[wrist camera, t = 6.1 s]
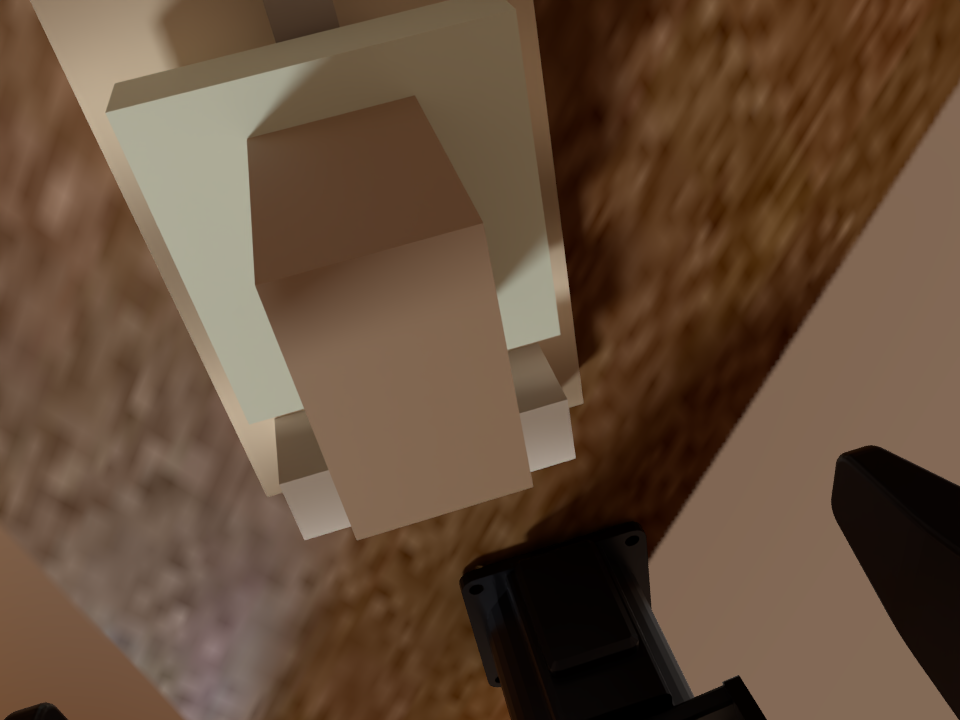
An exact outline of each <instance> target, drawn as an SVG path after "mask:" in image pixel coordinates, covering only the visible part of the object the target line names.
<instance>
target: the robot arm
mask: <svg viewBox="0 0 960 720" xmlns="http://www.w3.org/2000/svg"><path fill="white" fill-rule="evenodd" d="M831 505H832V510H833V514H834V516H835V519H836V521H837V523H838V525H839V526H840V528H841V530H842V532H843V534H844V536H845V537H846V539H847V541H848V543H849V545H850V546H851V548H852V550H853V552H854V554H855V556H856V557H857V559H858V561H859V563H860V565H861V566H862V568H863V570H864V572H865V574H866V575H867V577H868V579H869V581H870V583H871V584H872V586H873V588H874V590H875V592H876V593H877V595H878V597H879V599H880V601H881V602H882V604H883V606H884V608H885V610H886V612H887V613H888V615H889V617H890V618H891V620H892V622H893V624H894V625H895V627H896V629H897V630H898V632H899V634H900V635H901V637H902V639H903V640H904V642H905V643H906V645H907V646H908V648H909V649H910V650H911V652H912V653H913V655H914V656H915V658H916V659H917V661H918V662H919V664H920V665H921V666H922V668H923V669H924V671H925V672H926V674H927V675H928V676H929V678H930V679H931V681H932V682H933V683H934V685H935V686H936V688H937V689H938V691H939V692H940V693H941V695H942V696H943V698H944V699H945V701H946V702H947V703H948V705H949V706H950V707H951V709H952V711H953V712H954V713H955V715H956V716H957V718H958V719H959V720H960V486H958V485H956V484H954V483H952V482H950V481H948V480H946V479H944V478H942V477H940V476H938V475H936V474H934V473H932V472H930V471H928V470H926V469H924V468H922V467H920V466H918V465H916V464H914V463H912V462H910V461H908V460H906V459H903V458H901V457H899V456H897V455H895V454H893V453H891V452H889V451H887V450H885V449H883V448H881V447H878V446H872V445H870V446H864V447H861V448H858V449H855V450H852V451H848V452H845V453H843V454H842V455H840V456H839V458H838V459H837V462H836V469H835V476H834V483H833V490H832V498H831ZM459 585H460V588H461V592H462V596H463V599H464V602H465V606H466V609H467V612H468V616H469V619H470V622H471V626H472V629H473V632H474V636H475V639H476V642H477V646H478V649H479V652H480V656H481V659H482V662H483V666H484V669H485V672H486V676H487V679H488V682H489V684H490V686H493V687H502V691H503V694H504V697H505V701H506V704H507V708H508V711H509V714H510V718H511V720H767V719H766V718H765V716H764V714H763V713H762V711H761V710H760V708H759V706H758V705H757V703H756V702H755V700H754V699H753V697H752V695H751V694H750V692H749V691H748V689H747V687H746V686H745V684H744V682H743V681H742V679H741V678H740V676H739V675H738V676H735V677H733V678H731V679H728V680H726V681H724V682H722V683H723V685H722V686H720V687H718V688H715V689H713V690H711V691H708V692H706V693H704V694H701V695H699V696H697V697H694V695H693V693H692V691H691V689H690V687H689V685H688V683H687V681H686V679H685V677H684V675H683V673H682V671H681V669H680V667H679V665H678V663H677V661H676V659H675V657H674V655H673V653H672V650H671V648H670V646H669V645H668V643H667V640H666V638H665V636H664V634H663V632H662V631H661V628H660V626H659V624H658V622H657V620H656V618H655V616H654V614H653V612H652V610H651V598H650V597H651V596H650V583H649V569H648V555H647V541H646V535H645V532H644V531H643V529H642V527H641V525H640V524H639V523H637V522H627V523H624V524H621V525H618V526H614V527H611V528H608V529H605V530H601V531H598V532H595V533H592V534H589V535H585V536H582V537H579V538H576V539H572V540H569V541H566V542H563V543H560V544H556V545H553V546H550V547H547V548H544V549H540V550H537V551H534V552H531V553H527V554H524V555H521V556H518V557H515V558H511V559H508V560H505V561H502V562H499V563H495V564H492V565H489V566H486V567H482V568H479V569H476V570H473V571H470V572H468V573H466V574H465V575H463V576H462V577H461V579H460V581H459ZM4 720H68V719H67V718H66V717H65V716H64V715H63V714H62V713H61V712H60V711H59V710H58V709H57V707H56V706H54V705H53V704H50V703H40V704H37V705H34V706H31V707H28V708H24V709H21V710H18V711H15V712H13V713H11V714H10V715H8V716H7V717H6V718H5V719H4Z"/></svg>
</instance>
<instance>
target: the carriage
mask: <svg viewBox="0 0 960 720" xmlns="http://www.w3.org/2000/svg"><path fill="white" fill-rule="evenodd" d="M105 113H106V115H107V118H108V120H109V122H110V124H111V126H112V128H113V131H114V133H115V135H116V137H117V139H118V141H119V144H120V146H121V148H122V150H123V152H124V154H125V157H126V159H127V161H128V163H129V165H130V167H131V170H132V172H133V174H134V176H135V178H136V180H137V183H138V185H139V187H140V189H141V191H142V193H143V196H144V198H145V200H146V202H147V204H148V206H149V209H150V211H151V213H152V215H153V217H154V219H155V222H156V224H157V226H158V228H159V230H160V232H161V235H162V237H163V239H164V241H165V243H166V245H167V248H168V250H169V252H170V254H171V256H172V258H173V261H174V263H175V265H176V267H177V269H178V271H179V274H180V276H181V278H182V280H183V282H184V284H185V287H186V289H187V291H188V293H189V295H190V297H191V300H192V302H193V304H194V306H195V308H196V310H197V313H198V315H199V317H200V319H201V321H202V323H203V326H204V328H205V330H206V332H207V334H208V336H209V339H210V341H211V343H212V345H213V347H214V349H215V352H216V354H217V356H218V358H219V360H220V362H221V365H222V367H223V369H224V371H225V373H226V375H227V378H228V380H229V382H230V384H231V386H232V389H233V391H234V393H235V395H236V397H237V399H238V402H239V404H240V406H241V408H242V410H243V412H244V415H245V417H246V419H247V421H248V423H249V425H250V424H253V423H257V422H260V421H264V420H267V419H270V418H274V417H277V416H281V415H284V414H288V413H291V412H295V411H298V410H302V409H304V410H305V412H306V415H307V417H308V420H309V422H310V425H311V427H312V430H313V432H314V435H315V437H316V440H317V442H318V445H319V447H320V450H321V452H322V455H323V457H324V460H325V462H326V465H327V467H328V470H329V472H330V475H331V477H332V480H333V482H334V485H335V487H336V490H337V492H338V495H339V497H340V500H341V502H342V505H343V507H344V510H345V512H346V515H347V517H348V520H349V522H350V525H351V527H352V530H353V532H354V535H355V537H356V540H360V539H364V538H367V537H370V536H373V535H377V534H380V533H383V532H387V531H390V530H393V529H396V528H400V527H403V526H406V525H410V524H413V523H416V522H420V521H423V520H426V519H429V518H433V517H436V516H439V515H443V514H446V513H449V512H452V511H456V510H459V509H462V508H466V507H469V506H472V505H475V504H479V503H482V502H485V501H489V500H492V499H495V498H498V497H502V496H505V495H508V494H512V493H515V492H518V491H521V490H525V489H528V488H531V487H533V483H532V478H531V472H530V467H529V462H528V456H527V451H526V446H525V440H524V435H523V430H522V425H521V419H520V414H519V409H518V403H517V398H516V393H515V388H514V382H513V377H512V372H511V366H510V361H509V356H508V350H510V349H513V348H517V347H520V346H523V345H527V344H530V343H534V342H537V341H541V340H544V339H548V338H551V337H555V336H558V335H561V334H560V327H559V320H558V312H557V305H556V298H555V291H554V283H553V276H552V269H551V262H550V254H549V247H548V240H547V232H546V225H545V218H544V211H543V203H542V196H541V189H540V182H539V174H538V167H537V160H536V152H535V145H534V138H533V131H532V123H531V116H530V109H529V102H528V94H527V87H526V80H525V72H524V65H523V58H522V51H521V43H520V36H519V29H518V22H517V14H516V9H515V8H514V7H513V6H512V5H511V4H510V3H509V2H507V1H506V0H447V1H443V2H439V3H435V4H431V5H427V6H423V7H419V8H415V9H411V10H407V11H403V12H399V13H395V14H391V15H387V16H383V17H379V18H375V19H371V20H367V21H363V22H359V23H355V24H351V25H347V26H343V27H339V28H335V29H331V30H327V31H323V32H319V33H315V34H311V35H307V36H303V37H299V38H295V39H291V40H287V41H283V42H279V43H275V44H271V45H267V46H263V47H259V48H255V49H251V50H247V51H243V52H239V53H235V54H231V55H227V56H223V57H219V58H215V59H211V60H207V61H203V62H199V63H195V64H191V65H187V66H183V67H179V68H175V69H171V70H167V71H163V72H158V73H154V74H150V75H146V76H142V77H138V78H134V79H130V80H126V81H122V82H118V83H115V84H114V87H113V90H112V93H111V96H110V100H109V103H108V106H107V109H106V112H105Z"/></svg>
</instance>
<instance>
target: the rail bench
mask: <svg viewBox="0 0 960 720" xmlns="http://www.w3.org/2000/svg"><path fill="white" fill-rule="evenodd" d="M30 1H31V4H32V6H33V8H34V10H35V12H36V14H37V16H38V18H39V20H40V22H41V24H42V27H43V29H44V31H45V33H46V35H47V37H48V39H49V41H50V43H51V45H52V47H53V50H54V52H55V54H56V56H57V58H58V60H59V62H60V64H61V66H62V68H63V71H64V73H65V75H66V77H67V79H68V81H69V83H70V85H71V87H72V89H73V91H74V94H75V96H76V98H77V100H78V102H79V104H80V106H81V108H82V110H83V112H84V114H85V117H86V119H87V121H88V123H89V125H90V127H91V129H92V131H93V133H94V135H95V137H96V140H97V142H98V144H99V146H100V148H101V150H102V152H103V154H104V156H105V158H106V161H107V163H108V165H109V167H110V169H111V171H112V173H113V175H114V177H115V179H116V181H117V184H118V186H119V188H120V190H121V192H122V194H123V196H124V198H125V200H126V202H127V204H128V207H129V209H130V211H131V213H132V215H133V217H134V219H135V221H136V223H137V225H138V227H139V230H140V232H141V234H142V236H143V238H144V240H145V242H146V244H147V246H148V248H149V251H150V253H151V255H152V257H153V259H154V261H155V263H156V265H157V267H158V269H159V271H160V274H161V276H162V278H163V280H164V282H165V284H166V286H167V288H168V290H169V292H170V294H171V297H172V299H173V301H174V303H175V305H176V307H177V309H178V311H179V313H180V315H181V318H182V320H183V322H184V324H185V326H186V328H187V330H188V332H189V334H190V336H191V338H192V341H193V343H194V345H195V347H196V349H197V351H198V353H199V355H200V357H201V359H202V361H203V364H204V366H205V368H206V370H207V372H208V374H209V376H210V378H211V380H212V382H213V384H214V387H215V389H216V391H217V393H218V395H219V397H220V399H221V401H222V403H223V405H224V408H225V410H226V412H227V414H228V416H229V418H230V420H231V422H232V424H233V426H234V428H235V431H236V433H237V435H238V437H239V439H240V441H241V443H242V445H243V447H244V449H245V451H246V454H247V456H248V458H249V460H250V462H251V464H252V466H253V468H254V470H255V472H256V474H257V477H258V479H259V481H260V483H261V485H262V487H263V489H264V491H265V493H266V495H267V497H270V496H273V495H276V494H280V493H283V494H284V496H285V498H286V501H287V503H288V505H289V507H290V509H291V511H292V514H293V516H294V518H295V520H296V522H297V525H298V527H299V529H300V531H301V533H302V535H303V538H304V540H307V539H311V538H314V537H317V536H320V535H324V534H327V533H330V532H334V531H337V530H340V529H344V528H347V527H350V526H351V525H350V522H349V520H348V517H347V515H346V512H345V510H344V507H343V505H342V502H341V500H340V497H339V495H338V492H337V490H336V487H335V485H334V482H333V480H332V477H331V475H330V472H329V470H328V467H327V465H326V462H325V460H324V457H323V455H322V452H321V450H320V447H319V445H318V442H317V440H316V437H315V435H314V432H313V430H312V427H311V425H310V422H309V420H308V417H307V415H306V412H305V410H304V409H302V410H298V411H295V412H291V413H288V414H284V415H281V416H277V417H274V418H270V419H267V420H264V421H260V422H257V423H253V424H250V425H249V423H248V421H247V419H246V417H245V415H244V412H243V410H242V408H241V406H240V404H239V402H238V399H237V397H236V395H235V393H234V391H233V389H232V386H231V384H230V382H229V380H228V378H227V375H226V373H225V371H224V369H223V367H222V365H221V362H220V360H219V358H218V356H217V354H216V352H215V349H214V347H213V345H212V343H211V341H210V339H209V336H208V334H207V332H206V330H205V328H204V326H203V323H202V321H201V319H200V317H199V315H198V313H197V310H196V308H195V306H194V304H193V302H192V300H191V297H190V295H189V293H188V291H187V289H186V287H185V284H184V282H183V280H182V278H181V276H180V274H179V271H178V269H177V267H176V265H175V263H174V261H173V258H172V256H171V254H170V252H169V250H168V248H167V245H166V243H165V241H164V239H163V237H162V235H161V232H160V230H159V228H158V226H157V224H156V222H155V219H154V217H153V215H152V213H151V211H150V209H149V206H148V204H147V202H146V200H145V198H144V196H143V193H142V191H141V189H140V187H139V185H138V183H137V180H136V178H135V176H134V174H133V172H132V170H131V167H130V165H129V163H128V161H127V159H126V157H125V154H124V152H123V150H122V148H121V146H120V144H119V141H118V139H117V137H116V135H115V133H114V131H113V128H112V126H111V124H110V122H109V120H108V118H107V115H106V113H105V112H106V109H107V106H108V103H109V100H110V96H111V93H112V90H113V87H114V84H115V83H118V82H122V81H126V80H130V79H134V78H138V77H142V76H146V75H150V74H154V73H158V72H163V71H167V70H171V69H175V68H179V67H183V66H187V65H191V64H195V63H199V62H203V61H207V60H211V59H215V58H219V57H223V56H227V55H231V54H235V53H239V52H243V51H247V50H251V49H255V48H259V47H263V46H267V45H271V44H275V43H279V42H283V41H287V40H291V39H295V38H299V37H303V36H307V35H311V34H315V33H319V32H323V31H327V30H331V29H335V28H339V27H343V26H347V25H351V24H355V23H359V22H363V21H367V20H371V19H375V18H379V17H383V16H387V15H391V14H395V13H399V12H403V11H407V10H411V9H415V8H419V7H423V6H427V5H431V4H435V3H439V2H443V1H447V0H30ZM506 1H507V2H509V3H510V4H511V5H512V6H513V7H514V8H515V9H516V14H517V22H518V29H519V36H520V43H521V51H522V58H523V65H524V72H525V80H526V87H527V94H528V102H529V109H530V116H531V123H532V131H533V138H534V145H535V152H536V160H537V167H538V174H539V182H540V189H541V196H542V203H543V211H544V218H545V225H546V232H547V240H548V247H549V254H550V262H551V269H552V276H553V283H554V291H555V298H556V305H557V312H558V320H559V327H560V334H561V335H558V336H555V337H551V338H548V339H544V340H541V341H537V342H534V343H530V344H527V345H523V346H520V347H517V348H513V349H510V350H508V356H509V361H510V366H511V372H512V377H513V382H514V388H515V393H516V398H517V403H518V409H519V414H520V419H521V425H522V430H523V435H524V440H525V446H526V451H527V456H528V462H529V467H530V472H532V471H535V470H539V469H542V468H545V467H549V466H552V465H555V464H559V463H562V462H565V461H569V460H572V459H575V458H576V457H575V450H574V443H573V435H572V428H571V421H570V414H569V408H570V407H573V406H576V405H580V404H583V396H582V388H581V380H580V372H579V364H578V356H577V348H576V340H575V332H574V324H573V316H572V307H571V299H570V291H569V283H568V275H567V267H566V259H565V251H564V243H563V235H562V227H561V219H560V211H559V203H558V195H557V187H556V179H555V171H554V163H553V155H552V147H551V139H550V131H549V123H548V114H547V106H546V98H545V90H544V82H543V74H542V66H541V58H540V50H539V42H538V34H537V26H536V18H535V10H534V2H533V0H506Z"/></svg>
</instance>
